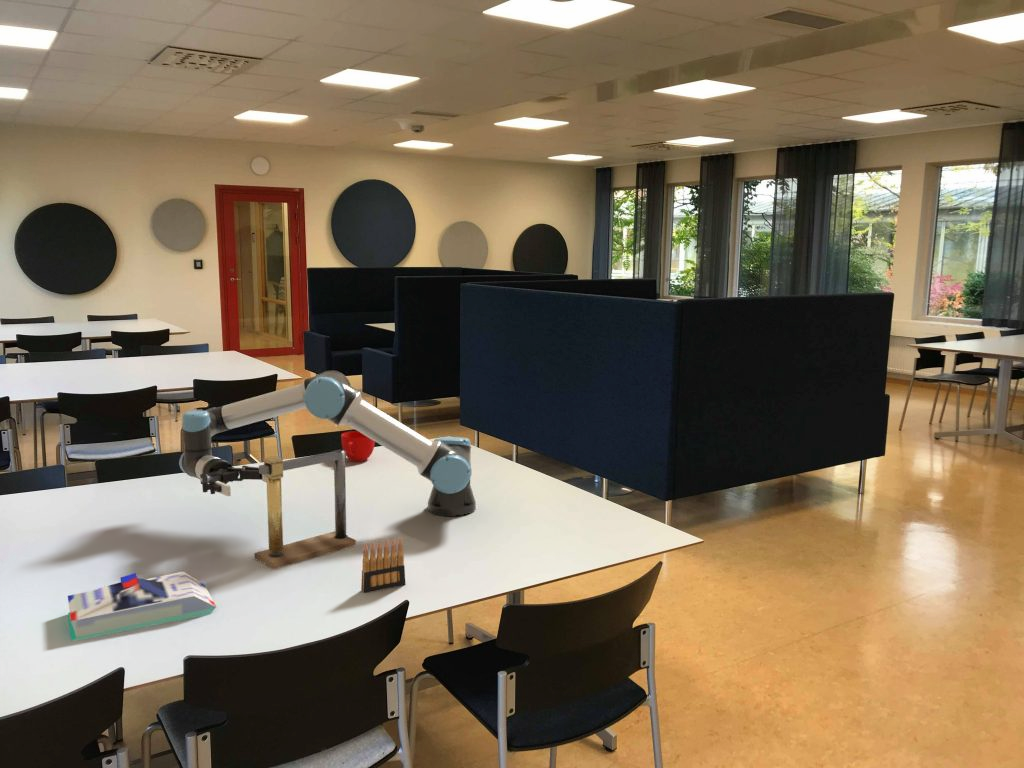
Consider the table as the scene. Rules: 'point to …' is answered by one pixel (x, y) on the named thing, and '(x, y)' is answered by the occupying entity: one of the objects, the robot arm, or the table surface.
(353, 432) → the ceramic cup
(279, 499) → the brass leg
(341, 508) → the steel frame
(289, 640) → the table surface
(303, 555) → the walnut board
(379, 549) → the ammunition clip
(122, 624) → the toy car
